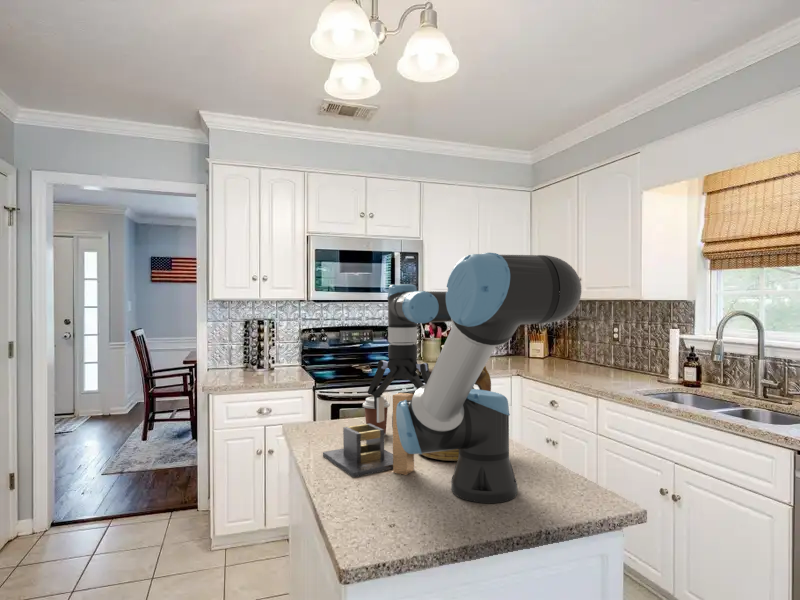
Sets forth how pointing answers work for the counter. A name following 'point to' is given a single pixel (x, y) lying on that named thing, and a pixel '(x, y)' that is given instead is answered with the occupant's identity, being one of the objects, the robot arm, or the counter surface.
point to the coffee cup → (375, 413)
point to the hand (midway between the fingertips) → (402, 424)
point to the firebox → (361, 451)
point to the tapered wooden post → (401, 458)
